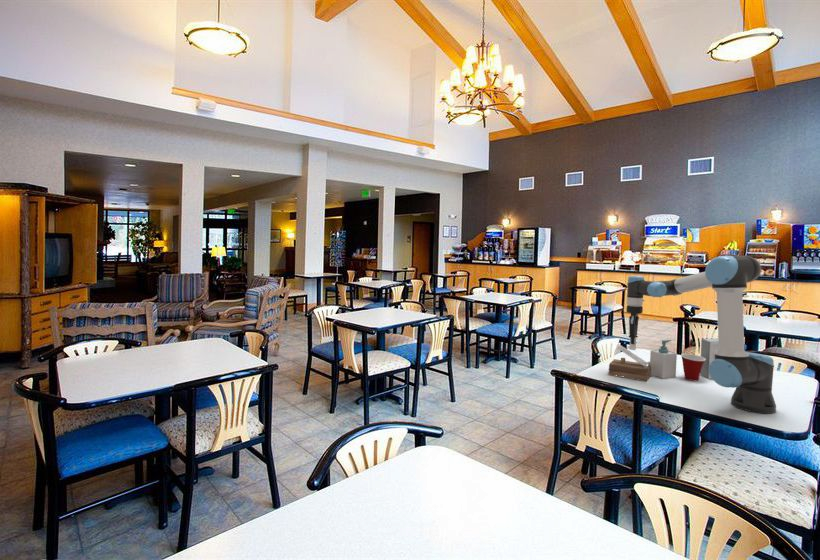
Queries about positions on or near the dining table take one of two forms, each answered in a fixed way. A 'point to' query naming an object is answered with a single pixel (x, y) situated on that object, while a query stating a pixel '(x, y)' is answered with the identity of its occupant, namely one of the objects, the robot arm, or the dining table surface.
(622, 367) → the walnut box
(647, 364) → the steel hasp
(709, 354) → the hard drive box
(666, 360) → the soap bottle
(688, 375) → the plastic cup
